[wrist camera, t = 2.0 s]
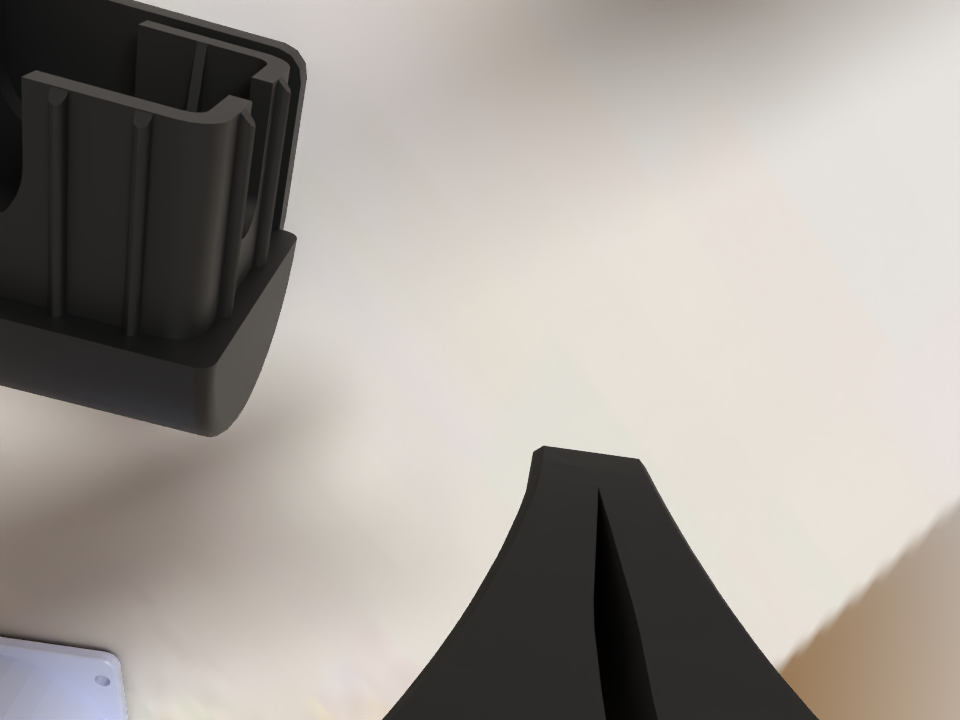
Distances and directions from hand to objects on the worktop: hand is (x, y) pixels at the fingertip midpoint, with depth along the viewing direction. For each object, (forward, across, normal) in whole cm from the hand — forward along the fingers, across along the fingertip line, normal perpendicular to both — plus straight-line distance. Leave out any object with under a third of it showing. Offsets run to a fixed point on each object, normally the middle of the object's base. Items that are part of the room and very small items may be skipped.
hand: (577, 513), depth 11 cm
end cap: (+11, +11, 0) cm, 15 cm away
